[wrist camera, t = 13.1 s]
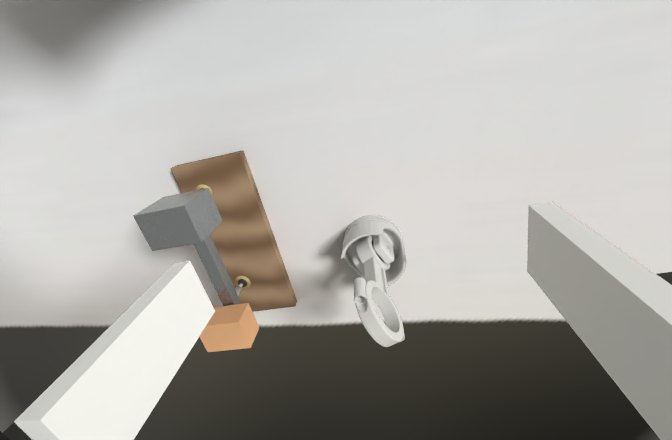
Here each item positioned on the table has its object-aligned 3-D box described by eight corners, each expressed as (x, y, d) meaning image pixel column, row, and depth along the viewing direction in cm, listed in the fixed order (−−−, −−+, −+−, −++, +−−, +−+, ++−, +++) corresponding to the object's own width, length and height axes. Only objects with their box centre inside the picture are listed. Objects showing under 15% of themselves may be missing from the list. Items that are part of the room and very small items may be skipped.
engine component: (379, 203, 50) (331, 236, 54) (386, 280, 32) (313, 321, 35) (416, 250, 53) (369, 278, 57) (442, 345, 35) (370, 377, 38)
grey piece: (191, 180, 50) (133, 215, 38) (230, 171, 49) (184, 205, 36) (247, 308, 61) (216, 368, 48) (281, 303, 59) (258, 364, 47)
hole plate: (175, 165, 51) (169, 168, 49) (243, 150, 49) (239, 153, 47) (240, 308, 63) (237, 314, 61) (296, 301, 61) (294, 307, 59)
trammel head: (230, 274, 57) (194, 327, 45) (265, 268, 55) (238, 321, 44) (239, 296, 59) (207, 352, 47) (274, 291, 57) (250, 347, 46)
